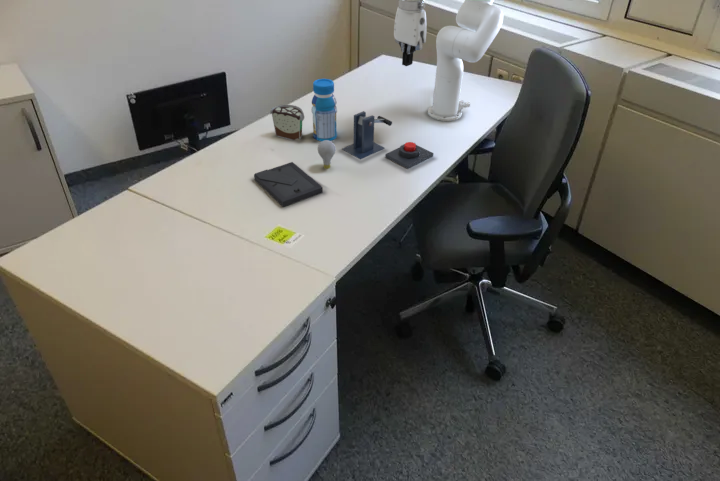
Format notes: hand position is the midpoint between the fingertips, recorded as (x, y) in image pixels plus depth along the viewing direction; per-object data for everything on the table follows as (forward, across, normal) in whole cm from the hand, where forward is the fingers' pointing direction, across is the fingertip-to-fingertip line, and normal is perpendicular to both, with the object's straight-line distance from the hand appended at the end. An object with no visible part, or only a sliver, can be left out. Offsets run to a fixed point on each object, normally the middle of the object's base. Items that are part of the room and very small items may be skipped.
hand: (407, 64), depth 174 cm
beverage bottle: (+25, +16, +22) cm, 37 cm away
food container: (+25, +26, +29) cm, 46 cm away
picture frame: (+25, 0, +49) cm, 55 cm away
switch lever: (+17, +1, +14) cm, 22 cm away
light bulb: (+25, 0, +35) cm, 43 cm away
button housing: (+25, -13, +11) cm, 30 cm away
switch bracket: (+25, +1, +18) cm, 31 cm away
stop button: (+21, -13, +11) cm, 27 cm away
